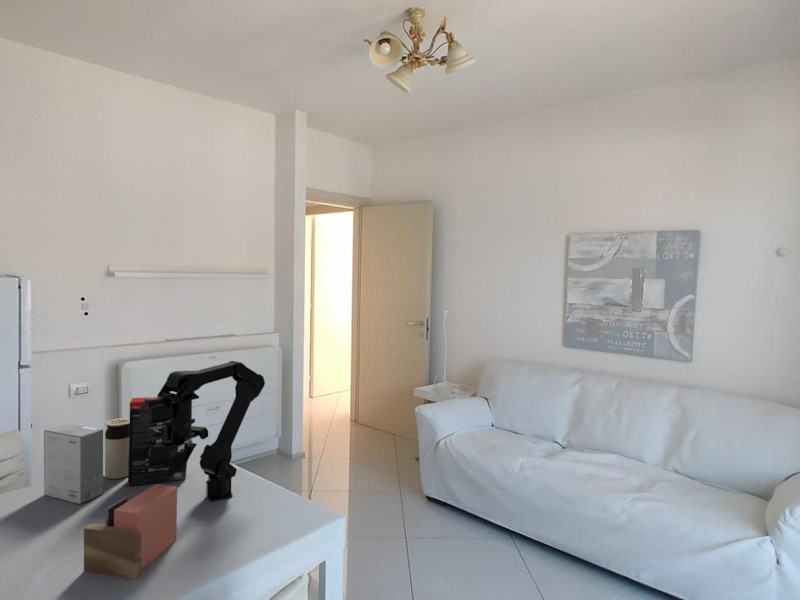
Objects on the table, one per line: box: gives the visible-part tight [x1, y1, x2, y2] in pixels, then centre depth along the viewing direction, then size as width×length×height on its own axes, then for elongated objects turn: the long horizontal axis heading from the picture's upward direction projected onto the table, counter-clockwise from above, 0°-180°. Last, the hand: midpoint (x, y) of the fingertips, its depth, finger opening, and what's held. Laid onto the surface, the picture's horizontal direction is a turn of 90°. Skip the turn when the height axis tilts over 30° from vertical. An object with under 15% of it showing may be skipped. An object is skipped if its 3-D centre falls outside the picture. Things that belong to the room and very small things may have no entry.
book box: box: [114, 483, 178, 571], centre depth 115 cm, size 14×6×14 cm, turn 170°
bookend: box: [105, 496, 129, 527], centre depth 113 cm, size 6×5×14 cm
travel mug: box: [104, 417, 130, 480], centre depth 159 cm, size 8×8×18 cm
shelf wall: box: [83, 523, 142, 580], centre depth 108 cm, size 2×13×10 cm, turn 80°
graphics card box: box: [127, 396, 188, 486], centre depth 156 cm, size 17×7×27 cm, turn 114°
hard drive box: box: [43, 423, 104, 505], centre depth 144 cm, size 16×8×20 cm, turn 71°
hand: (180, 471), depth 135 cm, fingers closed
